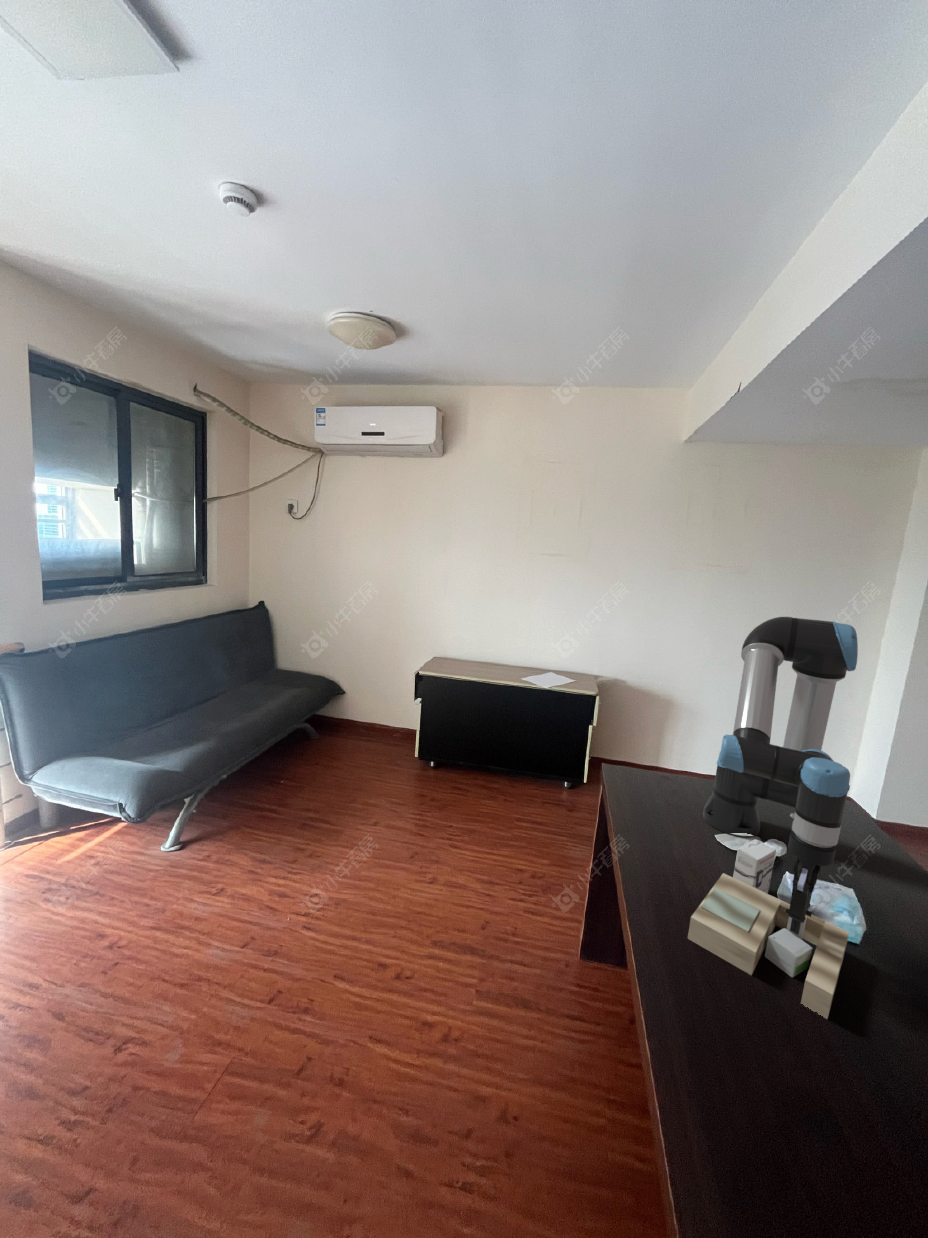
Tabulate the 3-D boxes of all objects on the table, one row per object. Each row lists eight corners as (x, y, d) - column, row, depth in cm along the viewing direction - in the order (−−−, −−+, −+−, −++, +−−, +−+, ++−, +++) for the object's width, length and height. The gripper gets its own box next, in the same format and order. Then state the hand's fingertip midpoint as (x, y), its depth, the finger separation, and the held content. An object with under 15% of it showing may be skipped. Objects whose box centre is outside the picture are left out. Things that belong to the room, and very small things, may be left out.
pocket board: (720, 892, 119) (723, 871, 118) (844, 953, 103) (849, 930, 102) (687, 938, 104) (691, 915, 103) (827, 1019, 88) (832, 993, 87)
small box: (792, 979, 96) (797, 957, 95) (763, 956, 101) (767, 935, 100) (809, 969, 98) (814, 947, 97) (779, 947, 103) (784, 926, 102)
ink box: (750, 906, 115) (758, 859, 113) (729, 893, 119) (736, 847, 117) (768, 894, 119) (777, 849, 118) (747, 881, 123) (755, 838, 122)
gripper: (797, 817, 106) (779, 917, 109) (783, 841, 96) (763, 949, 100) (841, 833, 101) (820, 937, 104) (831, 860, 91) (808, 973, 95)
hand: (792, 943), depth 102 cm, fingers closed
